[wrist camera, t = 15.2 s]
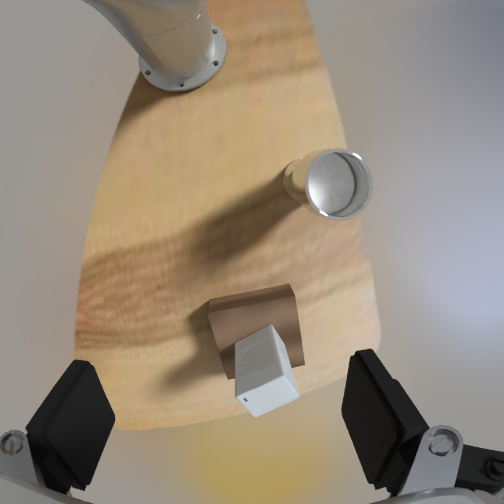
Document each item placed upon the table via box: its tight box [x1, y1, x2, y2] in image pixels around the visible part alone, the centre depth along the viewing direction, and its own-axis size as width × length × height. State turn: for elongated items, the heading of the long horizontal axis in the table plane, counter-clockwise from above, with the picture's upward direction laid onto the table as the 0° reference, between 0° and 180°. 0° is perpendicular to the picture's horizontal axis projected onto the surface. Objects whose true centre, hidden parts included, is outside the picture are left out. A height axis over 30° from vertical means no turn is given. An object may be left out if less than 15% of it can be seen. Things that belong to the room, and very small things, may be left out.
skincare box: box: [235, 324, 300, 417], centre depth 34 cm, size 6×4×12 cm
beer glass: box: [283, 148, 372, 221], centre depth 32 cm, size 7×7×15 cm
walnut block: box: [207, 284, 305, 379], centre depth 43 cm, size 12×12×5 cm
